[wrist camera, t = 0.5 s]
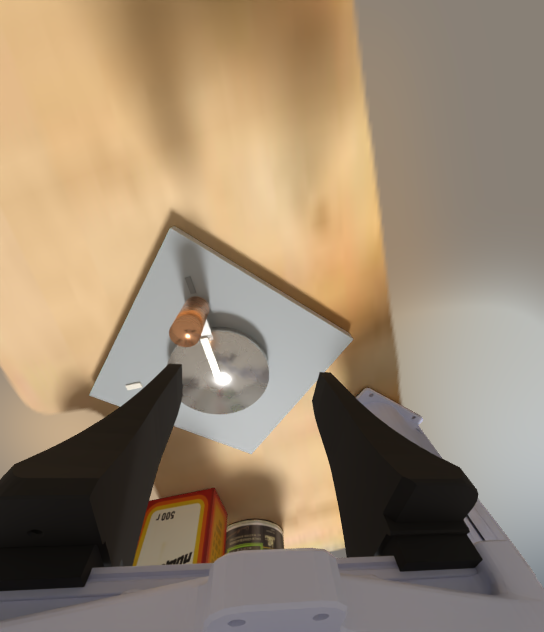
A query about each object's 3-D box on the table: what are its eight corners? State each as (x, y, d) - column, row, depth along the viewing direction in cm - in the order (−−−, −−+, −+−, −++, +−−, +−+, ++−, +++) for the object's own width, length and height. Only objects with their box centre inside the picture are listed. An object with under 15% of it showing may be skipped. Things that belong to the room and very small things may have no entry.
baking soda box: (163, 527, 36) (107, 743, 22) (144, 501, 34) (66, 731, 19) (227, 514, 36) (213, 723, 22) (214, 487, 34) (188, 708, 19)
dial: (276, 395, 25) (281, 433, 21) (189, 413, 26) (177, 455, 22) (248, 283, 20) (248, 306, 16) (138, 307, 20) (111, 335, 16)
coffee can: (209, 525, 37) (188, 696, 25) (278, 513, 37) (293, 677, 25) (225, 558, 42) (215, 716, 29) (287, 547, 42) (303, 700, 29)
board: (349, 332, 25) (354, 339, 24) (251, 444, 30) (251, 455, 29) (174, 225, 19) (169, 227, 18) (95, 386, 25) (88, 396, 24)
